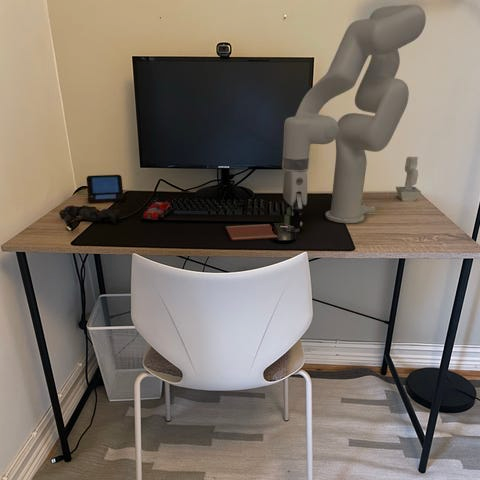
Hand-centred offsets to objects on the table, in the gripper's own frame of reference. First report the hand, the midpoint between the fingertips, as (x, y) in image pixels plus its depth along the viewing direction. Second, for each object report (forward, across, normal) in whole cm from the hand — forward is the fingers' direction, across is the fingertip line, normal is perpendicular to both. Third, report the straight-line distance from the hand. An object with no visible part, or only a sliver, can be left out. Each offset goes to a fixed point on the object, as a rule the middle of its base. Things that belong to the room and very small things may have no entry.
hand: (291, 225), depth 147 cm
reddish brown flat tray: (+2, 0, +12) cm, 13 cm away
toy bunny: (+2, 0, 0) cm, 2 cm away
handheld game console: (+2, +45, +58) cm, 73 cm away
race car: (+2, +21, +40) cm, 45 cm away
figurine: (+2, +27, -52) cm, 58 cm away
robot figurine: (+2, +20, +62) cm, 65 cm away
